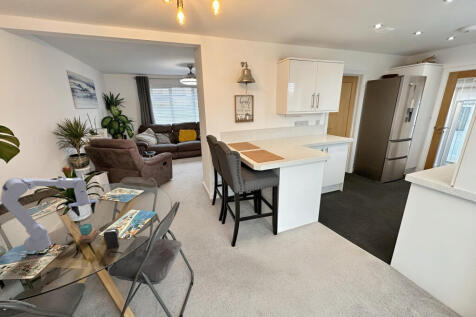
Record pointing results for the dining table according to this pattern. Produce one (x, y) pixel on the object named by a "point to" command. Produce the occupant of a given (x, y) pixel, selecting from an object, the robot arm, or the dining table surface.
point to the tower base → (88, 239)
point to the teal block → (85, 229)
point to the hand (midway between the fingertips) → (86, 214)
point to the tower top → (88, 235)
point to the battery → (111, 238)
